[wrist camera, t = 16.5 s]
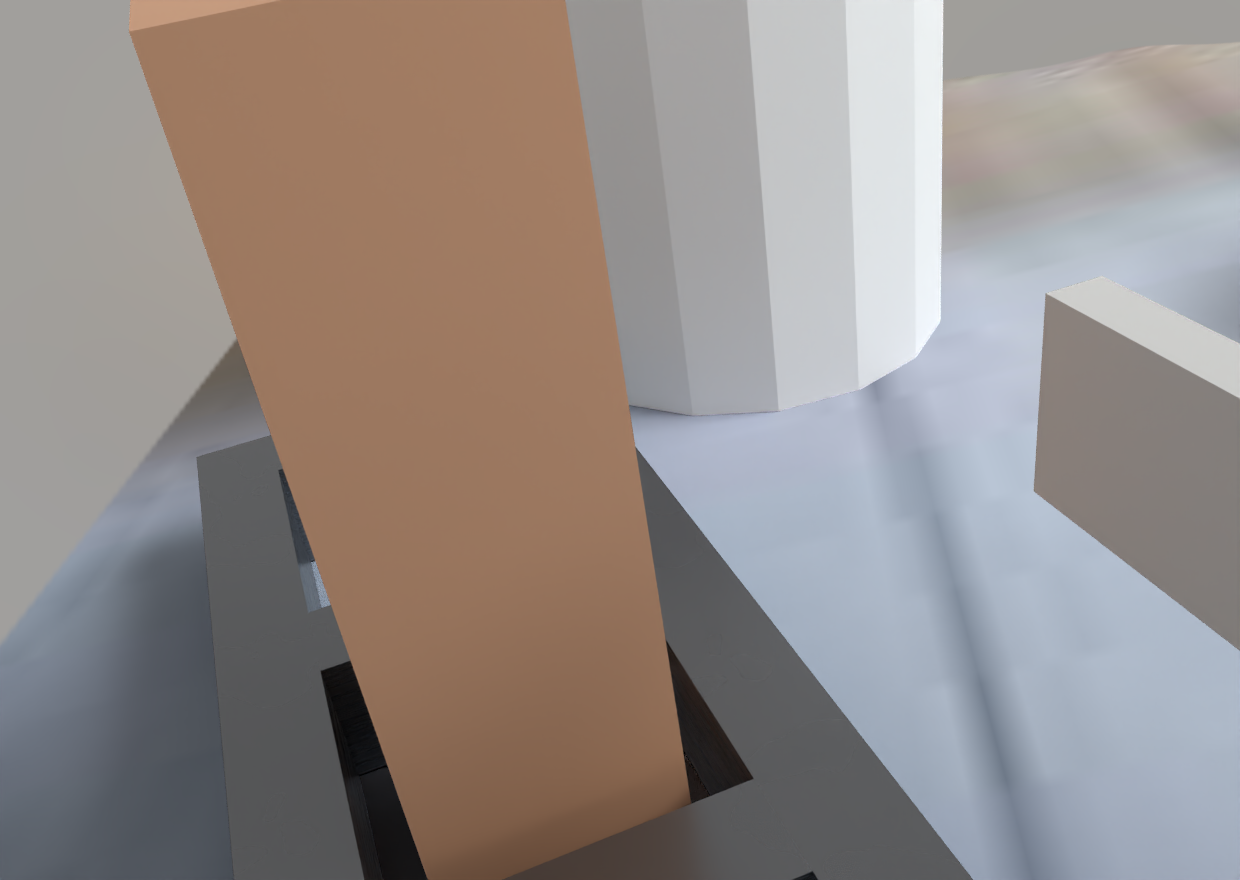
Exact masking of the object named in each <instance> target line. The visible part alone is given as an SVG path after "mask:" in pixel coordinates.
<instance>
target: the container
mask: <svg viewBox="0 0 1240 880" xmlns="http://www.w3.org/2000/svg"><path fill="white" fill-rule="evenodd" d="M565 2H566V9H567V15H568V21H569V28H570V34H571V41H572V47H573V53H574V60H575V66H576V72H577V79H578V85H579V92H580V98H581V104H582V111H583V117H584V123H585V130H586V136H587V142H588V149H589V155H590V162H591V168H592V174H593V181H594V187H595V193H596V200H597V206H598V213H599V219H600V225H601V232H602V238H603V244H604V251H605V257H606V263H607V270H608V276H609V283H610V289H611V295H612V302H613V308H614V314H615V321H616V327H617V334H618V340H619V346H620V353H621V359H622V365H623V372H624V378H625V385H626V391H627V397H628V404H629V405H631V406H637V407H643V408H649V409H655V410H661V411H667V412H673V413H678V414H684V415H690V416H702V415H721V414H740V413H759V412H778V411H782V410H786V409H790V408H794V407H798V406H801V405H805V404H809V403H813V402H817V401H820V400H824V399H828V398H832V397H836V396H839V395H843V394H847V393H851V392H855V391H858V390H860V389H862V388H864V387H866V386H867V385H869V384H871V383H873V382H874V381H876V380H878V379H880V378H881V377H883V376H885V375H887V374H888V373H890V372H892V371H894V370H895V369H897V368H899V367H901V366H902V365H904V364H906V363H908V362H909V361H911V360H913V359H915V358H916V357H917V355H918V354H919V352H920V351H921V349H922V348H923V346H924V345H925V343H926V342H927V341H928V339H929V338H930V336H931V335H932V333H933V332H934V330H935V329H936V327H937V326H938V324H939V323H940V321H941V203H942V81H943V79H942V78H943V65H942V64H943V0H565Z"/></svg>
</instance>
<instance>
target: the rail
mask: <svg viewBox="0 0 1240 880" xmlns="http://www.w3.org/2000/svg"><path fill="white" fill-rule="evenodd" d="M635 448H636V447H635ZM636 455H637V461H638V467H639V474H640V480H641V486H642V493H643V499H644V506H645V512H646V518H647V525H648V531H649V537H650V544H651V550H652V556H653V563H654V569H655V576H656V582H657V588H658V595H659V601H660V607H661V614H662V620H663V627H664V633H665V639H666V646H667V652H668V658H669V665H670V671H671V678H672V684H673V690H674V697H675V703H676V709H677V716H678V722H679V728H680V735H681V741H682V748H683V750H684V751H685V753H686V755H687V757H688V758H689V760H690V762H691V764H692V765H693V767H694V769H695V770H696V772H697V774H698V776H699V777H700V779H701V781H702V783H703V784H704V786H705V788H706V789H707V791H708V793H709V795H710V796H709V797H707V798H704V799H702V800H699V801H697V802H694V803H692V804H689V805H687V806H684V807H682V808H680V809H677V810H675V811H672V812H670V813H667V814H665V815H662V816H660V817H657V818H655V819H652V820H650V821H647V822H645V823H642V824H640V825H637V826H635V827H632V828H630V829H627V830H625V831H622V832H620V833H617V834H615V835H612V836H610V837H607V838H605V839H602V840H600V841H597V842H595V843H592V844H590V845H587V846H585V847H582V848H580V849H577V850H575V851H572V852H570V853H567V854H565V855H562V856H560V857H557V858H555V859H552V860H550V861H547V862H545V863H542V864H540V865H537V866H535V867H532V868H530V869H527V870H525V871H522V872H520V873H517V874H515V875H512V876H510V877H507V878H505V879H502V880H973V879H972V878H971V876H970V875H969V874H968V873H967V871H966V870H965V869H964V867H963V866H962V865H961V864H960V862H959V861H958V860H957V859H956V857H955V856H954V855H953V853H952V852H951V851H950V850H949V848H948V847H947V846H946V844H945V843H944V842H943V841H942V839H941V838H940V837H939V835H938V834H937V833H936V832H935V830H934V829H933V828H932V826H931V825H930V824H929V823H928V821H927V820H926V819H925V817H924V816H923V815H922V814H921V812H920V811H919V810H918V808H917V807H916V806H915V805H914V803H913V802H912V801H911V800H910V798H909V797H908V796H907V794H906V793H905V792H904V791H903V789H902V788H901V787H900V785H899V784H898V783H897V782H896V780H895V779H894V778H893V776H892V775H891V774H890V773H889V771H888V770H887V769H886V767H885V766H884V765H883V764H882V762H881V761H880V760H879V758H878V757H877V756H876V755H875V753H874V752H873V751H872V749H871V748H870V747H869V746H868V744H867V743H866V742H865V741H864V739H863V738H862V737H861V735H860V734H859V733H858V732H857V730H856V729H855V728H854V726H853V725H852V724H851V723H850V721H849V720H848V719H847V717H846V716H845V715H844V714H843V712H842V711H841V710H840V708H839V707H838V706H837V705H836V703H835V702H834V701H833V699H832V698H831V697H830V696H829V694H828V693H827V692H826V691H825V689H824V688H823V687H822V685H821V684H820V683H819V682H818V680H817V679H816V678H815V676H814V675H813V674H812V673H811V671H810V670H809V669H808V667H807V666H806V665H805V664H804V662H803V661H802V660H801V658H800V657H799V656H798V655H797V653H796V652H795V651H794V649H793V648H792V647H791V646H790V644H789V643H788V642H787V640H786V639H785V638H784V637H783V635H782V634H781V633H780V632H779V630H778V629H777V628H776V626H775V625H774V624H773V623H772V621H771V620H770V619H769V617H768V616H767V615H766V614H765V612H764V611H763V610H762V608H761V607H760V606H759V605H758V603H757V602H756V601H755V599H754V598H753V597H752V596H751V594H750V593H749V592H748V590H747V589H746V588H745V587H744V585H743V584H742V583H741V581H740V580H739V579H738V578H737V576H736V575H735V574H734V573H733V571H732V570H731V569H730V567H729V566H728V565H727V564H726V562H725V561H724V560H723V558H722V557H721V556H720V555H719V553H718V552H717V551H716V549H715V548H714V547H713V546H712V544H711V543H710V542H709V540H708V539H707V538H706V537H705V535H704V534H703V533H702V531H701V530H700V529H699V528H698V526H697V525H696V524H695V523H694V521H693V520H692V519H691V517H690V516H689V515H688V514H687V512H686V511H685V510H684V508H683V507H682V506H681V505H680V503H679V502H678V501H677V499H676V498H675V497H674V496H673V494H672V493H671V492H670V490H669V489H668V488H667V487H666V485H665V484H664V483H663V481H662V480H661V479H660V478H659V476H658V475H657V474H656V472H655V471H654V470H653V469H652V467H651V466H650V465H649V464H648V462H647V461H646V460H645V458H644V457H643V456H642V455H641V453H640V452H639V451H638V449H637V448H636ZM197 467H198V478H199V489H200V501H201V512H202V523H203V535H204V546H205V557H206V569H207V580H208V591H209V603H210V614H211V625H212V637H213V648H214V659H215V671H216V682H217V693H218V705H219V716H220V727H221V739H222V750H223V761H224V773H225V784H226V795H227V807H228V818H229V829H230V841H231V852H232V863H233V875H234V880H383V877H382V872H381V868H380V864H379V859H378V855H377V851H376V846H375V842H374V837H373V833H372V829H371V824H370V820H369V815H368V811H367V807H366V802H365V798H364V793H363V789H362V785H361V780H360V776H359V775H361V774H364V773H367V772H369V771H372V770H375V769H378V768H380V767H383V766H386V765H387V763H386V760H385V757H384V754H383V751H382V748H381V746H380V743H379V740H378V737H377V734H376V731H375V729H374V726H373V723H372V720H371V717H370V714H369V712H368V709H367V706H366V703H365V700H364V697H363V694H362V692H361V689H360V686H359V683H358V680H357V677H356V675H355V672H354V669H353V666H352V663H351V660H350V658H349V655H348V652H347V649H346V646H345V643H344V641H343V638H342V635H341V632H340V629H339V626H338V624H337V621H336V618H335V615H334V612H333V609H332V606H331V605H330V606H327V607H324V608H321V605H320V600H319V596H318V592H317V587H316V583H315V578H314V574H313V570H312V565H311V561H313V560H315V558H314V555H313V553H312V550H311V547H310V544H309V541H308V538H307V535H306V533H305V530H304V527H303V524H302V521H301V518H300V516H299V513H298V510H297V507H296V504H295V501H294V499H293V496H292V493H291V490H290V487H289V484H288V482H287V479H286V476H285V473H284V470H283V467H282V464H281V462H280V459H279V456H278V453H277V450H276V447H275V445H274V442H273V439H272V436H271V435H270V436H267V437H264V438H260V439H257V440H253V441H250V442H247V443H243V444H240V445H236V446H233V447H230V448H226V449H223V450H219V451H216V452H212V453H209V454H206V455H202V456H199V457H197Z"/></svg>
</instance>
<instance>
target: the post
mask: <svg viewBox="0 0 1240 880" xmlns="http://www.w3.org/2000/svg"><path fill="white" fill-rule="evenodd" d="M129 33H130V36H131V38H132V41H133V44H134V47H135V50H136V53H137V55H138V58H139V61H140V64H141V67H142V69H143V72H144V75H145V78H146V81H147V84H148V87H149V90H150V92H151V95H152V98H153V101H154V104H155V106H156V109H157V112H158V115H159V118H160V121H161V124H162V126H163V129H164V132H165V135H166V138H167V141H168V143H169V146H170V149H171V152H172V155H173V158H174V160H175V163H176V166H177V169H178V172H179V175H180V178H181V180H182V183H183V186H184V189H185V192H186V195H187V197H188V200H189V203H190V206H191V209H192V211H193V215H194V217H195V220H196V223H197V226H198V229H199V232H200V234H201V237H202V240H203V243H204V246H205V249H206V251H207V254H208V257H209V260H210V263H211V266H212V268H213V271H214V274H215V277H216V280H217V283H218V285H219V288H220V291H221V294H222V297H223V300H224V302H225V305H226V308H227V311H228V314H229V317H230V320H231V322H232V325H233V328H234V331H235V334H236V337H237V340H238V342H239V345H240V348H241V351H242V354H243V357H244V359H245V362H246V365H247V368H248V371H249V374H250V376H251V379H252V382H253V385H254V388H255V391H256V393H257V396H258V399H259V402H260V405H261V408H262V411H263V413H264V416H265V419H266V422H267V425H268V428H269V430H270V433H271V436H272V439H273V442H274V445H275V447H276V450H277V453H278V456H279V459H280V462H281V464H282V467H283V470H284V473H285V476H286V479H287V482H288V484H289V487H290V490H291V493H292V496H293V499H294V501H295V504H296V507H297V510H298V513H299V516H300V518H301V521H302V524H303V527H304V530H305V533H306V535H307V538H308V541H309V544H310V547H311V550H312V553H313V555H314V558H315V561H316V564H317V567H318V570H319V572H320V575H321V578H322V581H323V584H324V587H325V589H326V592H327V595H328V598H329V601H330V604H331V606H332V609H333V612H334V615H335V618H336V621H337V624H338V626H339V629H340V632H341V635H342V638H343V641H344V643H345V646H346V649H347V652H348V655H349V658H350V660H351V663H352V666H353V669H354V672H355V675H356V677H357V680H358V683H359V686H360V689H361V692H362V694H363V697H364V700H365V703H366V706H367V709H368V712H369V714H370V717H371V720H372V723H373V726H374V729H375V731H376V734H377V737H378V740H379V743H380V746H381V748H382V751H383V754H384V757H385V760H386V763H387V765H388V768H389V771H390V774H391V777H392V780H393V783H394V785H395V788H396V791H397V794H398V797H399V800H400V802H401V805H402V808H403V811H404V814H405V817H406V819H407V822H408V825H409V828H410V831H411V834H412V836H413V839H414V842H415V845H416V848H417V851H418V854H419V856H420V859H421V862H422V865H423V868H424V871H425V873H426V876H427V879H428V880H502V879H505V878H507V877H510V876H512V875H515V874H517V873H520V872H522V871H525V870H527V869H530V868H532V867H535V866H537V865H540V864H542V863H545V862H547V861H550V860H552V859H555V858H557V857H560V856H562V855H565V854H567V853H570V852H572V851H575V850H577V849H580V848H582V847H585V846H587V845H590V844H592V843H595V842H597V841H600V840H602V839H605V838H607V837H610V836H612V835H615V834H617V833H620V832H622V831H625V830H627V829H630V828H632V827H635V826H637V825H640V824H642V823H645V822H647V821H650V820H652V819H655V818H657V817H660V816H662V815H665V814H667V813H670V812H672V811H675V810H677V809H680V808H682V807H684V806H687V805H689V804H691V799H690V792H689V786H688V779H687V773H686V767H685V760H684V754H683V748H682V741H681V735H680V728H679V722H678V716H677V709H676V703H675V697H674V690H673V684H672V678H671V671H670V665H669V658H668V652H667V646H666V639H665V633H664V627H663V620H662V614H661V607H660V601H659V595H658V588H657V582H656V576H655V569H654V563H653V556H652V550H651V544H650V537H649V531H648V525H647V518H646V512H645V506H644V499H643V493H642V486H641V480H640V474H639V467H638V461H637V455H636V448H635V442H634V435H633V429H632V423H631V416H630V410H629V404H628V397H627V391H626V385H625V378H624V372H623V365H622V359H621V353H620V346H619V340H618V334H617V327H616V321H615V314H614V308H613V302H612V295H611V289H610V283H609V276H608V270H607V263H606V257H605V251H604V244H603V238H602V232H601V225H600V219H599V213H598V206H597V200H596V193H595V187H594V181H593V174H592V168H591V162H590V155H589V149H588V142H587V136H586V130H585V123H584V117H583V111H582V104H581V98H580V92H579V85H578V79H577V72H576V66H575V60H574V53H573V47H572V41H571V34H570V28H569V21H568V15H567V9H566V2H565V0H131V1H130V22H129Z"/></svg>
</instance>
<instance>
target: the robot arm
mask: <svg viewBox="0 0 1240 880" xmlns="http://www.w3.org/2000/svg"><path fill="white" fill-rule="evenodd" d="M1034 492H1035V493H1037V494H1038V495H1039V496H1041V497H1042V498H1043V499H1044V500H1046V501H1047V502H1048V503H1050V504H1051V505H1052V506H1053V507H1055V508H1056V509H1057V510H1059V511H1060V512H1061V513H1062V514H1064V515H1065V516H1066V517H1068V518H1069V519H1070V520H1072V521H1073V522H1074V523H1075V524H1077V525H1078V526H1079V527H1081V528H1082V529H1083V530H1084V531H1086V532H1087V533H1088V534H1090V535H1091V536H1092V537H1094V538H1095V539H1096V540H1097V541H1099V542H1100V543H1101V544H1103V545H1104V546H1105V547H1106V548H1108V549H1109V550H1110V551H1112V552H1113V553H1114V554H1115V555H1117V556H1118V557H1119V558H1121V559H1122V560H1123V561H1125V562H1126V563H1127V564H1128V565H1130V566H1131V567H1132V568H1134V569H1135V570H1136V571H1137V572H1139V573H1140V574H1141V575H1143V576H1144V577H1145V578H1146V579H1148V580H1149V581H1150V582H1152V583H1153V584H1154V585H1156V586H1157V587H1158V588H1159V589H1161V590H1162V591H1163V592H1165V593H1166V594H1167V595H1168V596H1170V597H1171V598H1172V599H1174V600H1175V601H1176V602H1177V603H1179V604H1180V605H1181V606H1183V607H1184V608H1185V609H1187V610H1188V611H1189V612H1190V613H1192V614H1193V615H1194V616H1196V617H1197V618H1198V619H1199V620H1201V621H1202V622H1203V623H1205V624H1206V625H1207V626H1209V627H1210V628H1211V629H1212V630H1214V631H1215V632H1216V633H1218V634H1219V635H1220V636H1221V637H1223V638H1224V639H1225V640H1227V641H1228V642H1229V643H1230V644H1232V645H1233V646H1234V647H1236V648H1237V649H1238V650H1240V344H1239V343H1237V342H1235V341H1233V340H1231V339H1229V338H1227V337H1225V336H1223V335H1221V334H1219V333H1217V332H1215V331H1213V330H1211V329H1209V328H1207V327H1205V326H1203V325H1201V324H1199V323H1197V322H1195V321H1193V320H1191V319H1189V318H1187V317H1184V316H1182V315H1180V314H1178V313H1176V312H1174V311H1172V310H1170V309H1168V308H1166V307H1164V306H1162V305H1160V304H1158V303H1156V302H1154V301H1152V300H1150V299H1148V298H1146V297H1144V296H1142V295H1140V294H1138V293H1136V292H1134V291H1132V290H1130V289H1128V288H1125V287H1123V286H1121V285H1119V284H1117V283H1115V282H1113V281H1111V280H1109V279H1107V278H1105V277H1103V276H1100V277H1097V278H1094V279H1090V280H1087V281H1084V282H1081V283H1078V284H1074V285H1071V286H1068V287H1065V288H1061V289H1058V290H1055V291H1052V292H1048V293H1046V297H1045V313H1044V330H1043V346H1042V363H1041V379H1040V396H1039V413H1038V429H1037V446H1036V462H1035V479H1034Z"/></svg>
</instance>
